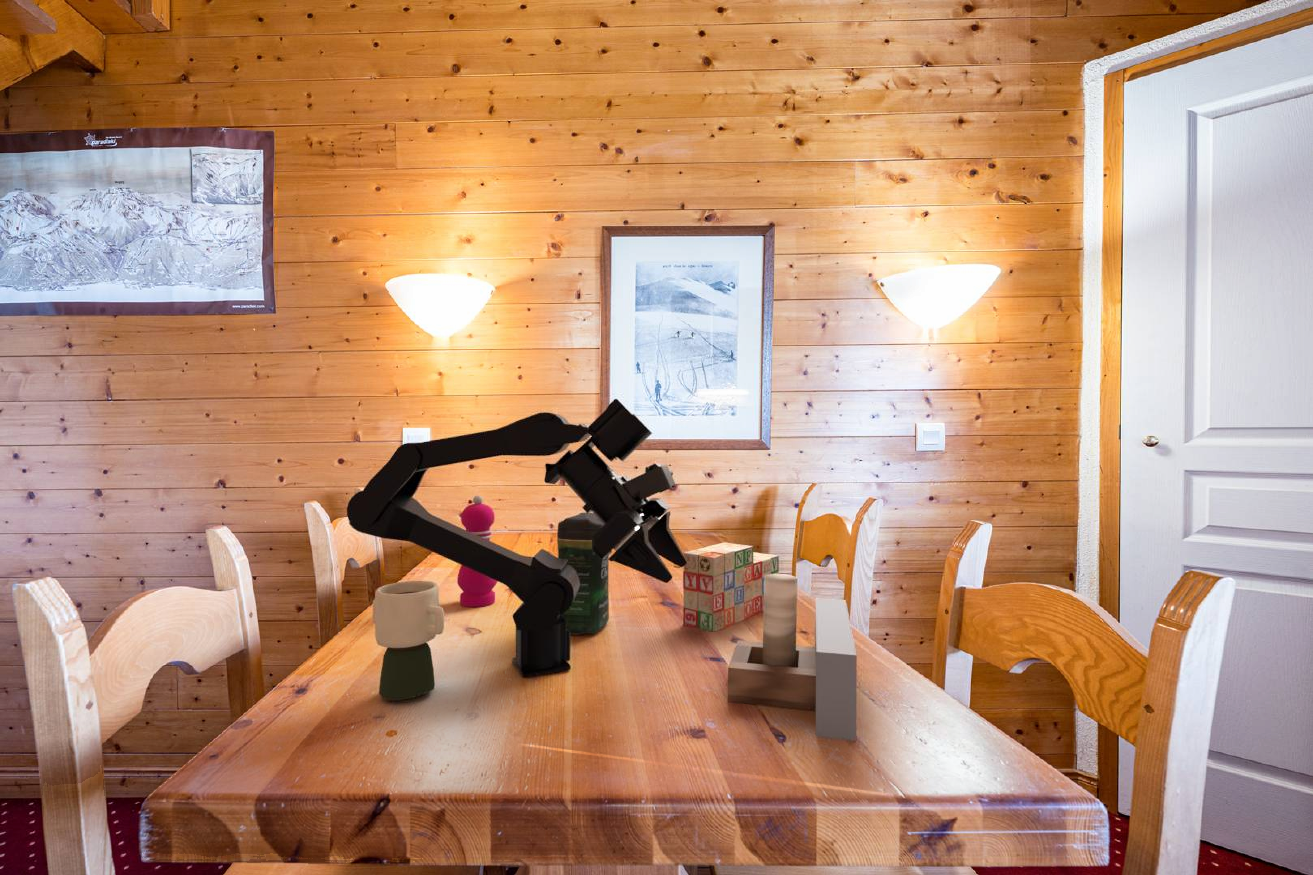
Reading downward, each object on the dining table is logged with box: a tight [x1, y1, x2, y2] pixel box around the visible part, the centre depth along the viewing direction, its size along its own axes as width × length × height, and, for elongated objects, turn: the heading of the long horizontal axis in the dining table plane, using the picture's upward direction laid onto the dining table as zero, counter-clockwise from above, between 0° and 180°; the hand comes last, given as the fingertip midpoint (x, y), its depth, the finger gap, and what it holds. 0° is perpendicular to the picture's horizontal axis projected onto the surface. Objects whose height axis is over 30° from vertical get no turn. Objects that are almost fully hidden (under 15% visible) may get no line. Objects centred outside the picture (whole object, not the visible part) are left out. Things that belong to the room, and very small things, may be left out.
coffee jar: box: [556, 512, 610, 636], centre depth 102 cm, size 10×8×19 cm
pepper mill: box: [456, 494, 498, 608], centre depth 116 cm, size 7×7×20 cm
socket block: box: [727, 639, 816, 712], centre depth 77 cm, size 10×10×4 cm
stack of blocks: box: [682, 542, 780, 632], centre depth 110 cm, size 21×6×12 cm, turn 140°
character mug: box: [372, 580, 445, 701], centre depth 75 cm, size 11×7×13 cm, turn 66°
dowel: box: [762, 573, 798, 668], centre depth 77 cm, size 4×4×13 cm
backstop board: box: [814, 597, 858, 742], centre depth 75 cm, size 4×22×9 cm, turn 166°
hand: (677, 572), depth 81 cm, fingers open, 9 cm apart
